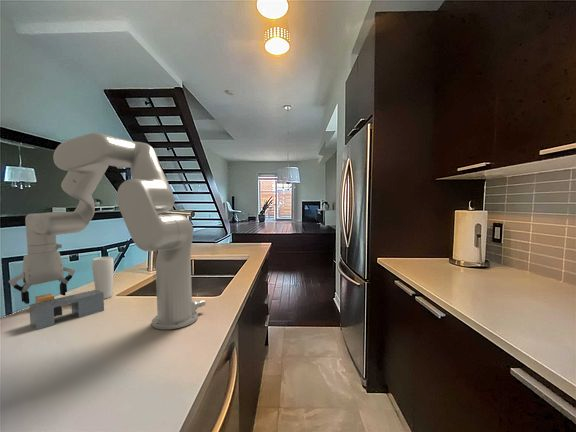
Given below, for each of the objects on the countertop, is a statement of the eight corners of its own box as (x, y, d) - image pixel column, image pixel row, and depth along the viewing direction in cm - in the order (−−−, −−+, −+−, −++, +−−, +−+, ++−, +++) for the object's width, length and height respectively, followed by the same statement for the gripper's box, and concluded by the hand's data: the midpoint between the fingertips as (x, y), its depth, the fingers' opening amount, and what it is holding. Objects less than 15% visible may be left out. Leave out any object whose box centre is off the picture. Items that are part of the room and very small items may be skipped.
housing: (96, 306, 95) (95, 289, 95) (104, 310, 91) (103, 292, 91) (30, 324, 81) (29, 304, 81) (36, 329, 78) (35, 308, 77)
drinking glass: (112, 298, 103) (111, 259, 102) (91, 301, 101) (89, 260, 100) (116, 293, 109) (115, 256, 109) (96, 296, 107) (94, 257, 106)
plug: (49, 303, 99) (48, 292, 99) (66, 313, 89) (65, 301, 89) (34, 307, 96) (34, 296, 95) (50, 317, 86) (49, 305, 86)
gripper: (69, 245, 104) (72, 290, 104) (4, 252, 90) (7, 304, 90) (76, 246, 100) (79, 293, 100) (9, 254, 85) (13, 308, 86)
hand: (45, 298), depth 95 cm, fingers open, 9 cm apart
